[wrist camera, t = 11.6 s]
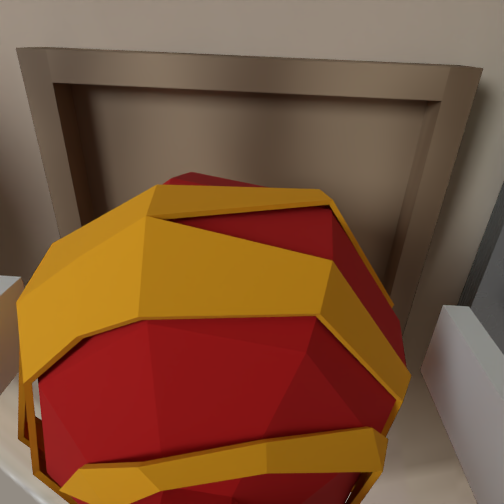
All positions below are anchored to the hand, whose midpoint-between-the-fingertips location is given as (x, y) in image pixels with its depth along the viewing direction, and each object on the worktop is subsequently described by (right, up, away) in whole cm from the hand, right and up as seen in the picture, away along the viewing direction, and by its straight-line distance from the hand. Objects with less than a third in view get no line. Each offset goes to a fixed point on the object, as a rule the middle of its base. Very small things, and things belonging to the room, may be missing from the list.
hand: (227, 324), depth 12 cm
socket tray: (0, +3, +5) cm, 6 cm away
